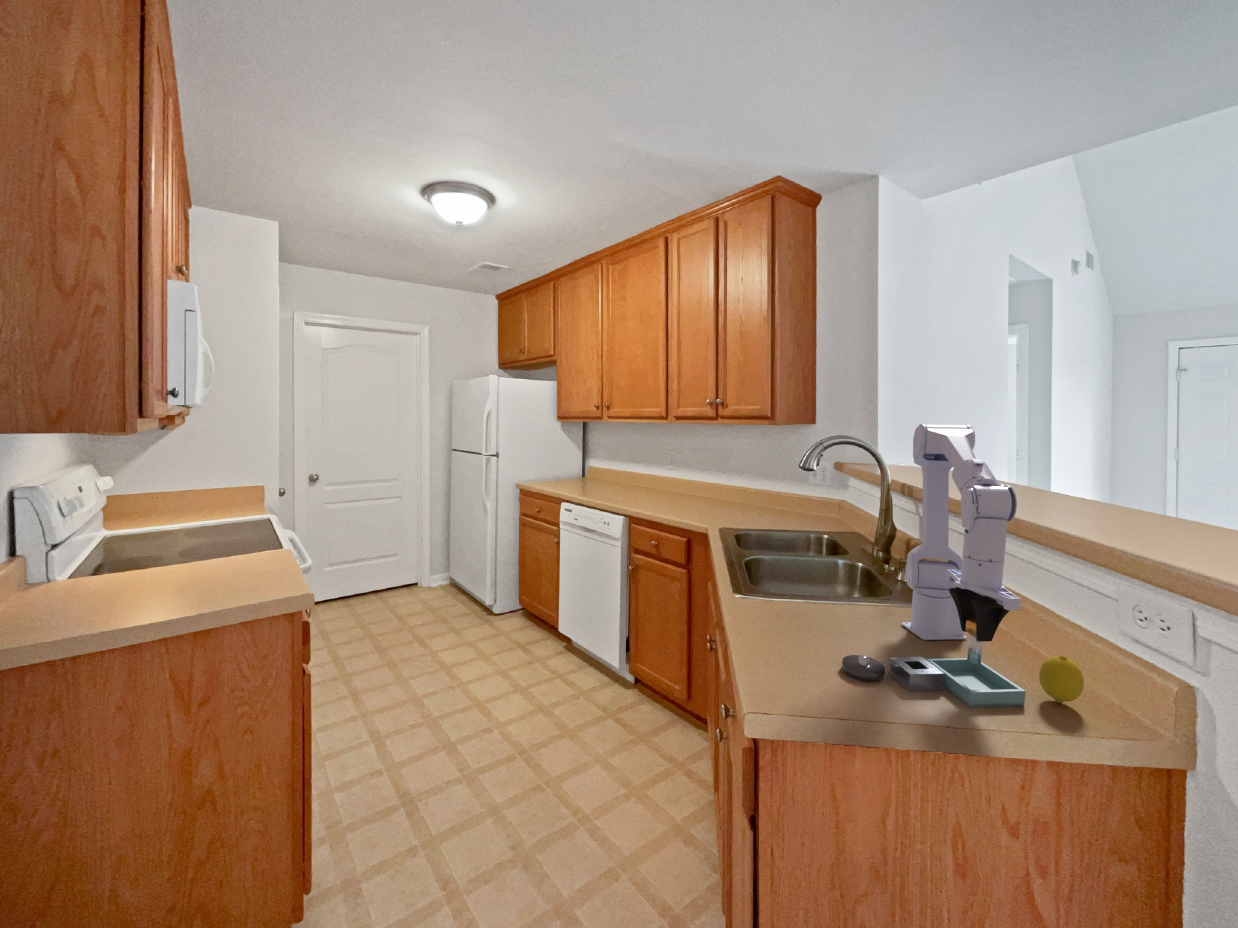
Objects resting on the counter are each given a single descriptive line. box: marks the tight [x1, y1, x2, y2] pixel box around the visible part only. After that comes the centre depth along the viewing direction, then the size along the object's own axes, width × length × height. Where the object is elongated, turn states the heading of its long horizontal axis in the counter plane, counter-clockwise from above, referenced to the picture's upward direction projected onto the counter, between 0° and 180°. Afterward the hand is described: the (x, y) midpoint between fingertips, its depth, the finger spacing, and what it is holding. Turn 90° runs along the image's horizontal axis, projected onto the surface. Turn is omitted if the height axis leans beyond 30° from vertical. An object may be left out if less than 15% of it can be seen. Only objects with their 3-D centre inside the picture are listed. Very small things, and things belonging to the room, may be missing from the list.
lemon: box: [1039, 654, 1085, 704], centre depth 86 cm, size 6×6×8 cm
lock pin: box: [965, 618, 984, 664], centre depth 90 cm, size 3×3×7 cm
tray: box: [925, 657, 1026, 708], centre depth 91 cm, size 9×11×2 cm
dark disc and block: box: [841, 654, 944, 692], centre depth 95 cm, size 14×10×3 cm
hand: (976, 635), depth 90 cm, fingers closed on lock pin, 3 cm apart
